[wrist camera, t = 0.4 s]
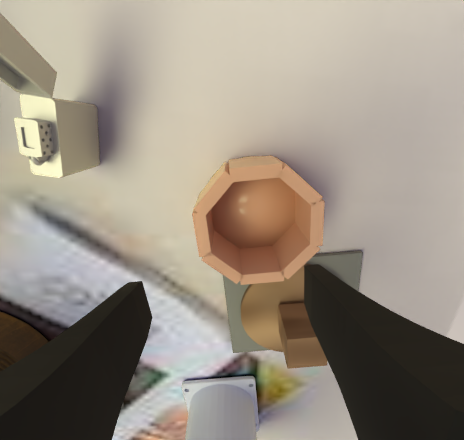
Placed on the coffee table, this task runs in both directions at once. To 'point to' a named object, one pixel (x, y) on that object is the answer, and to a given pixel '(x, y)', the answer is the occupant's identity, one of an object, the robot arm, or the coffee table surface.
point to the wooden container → (17, 340)
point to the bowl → (258, 220)
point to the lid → (282, 320)
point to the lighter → (46, 112)
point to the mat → (336, 263)
